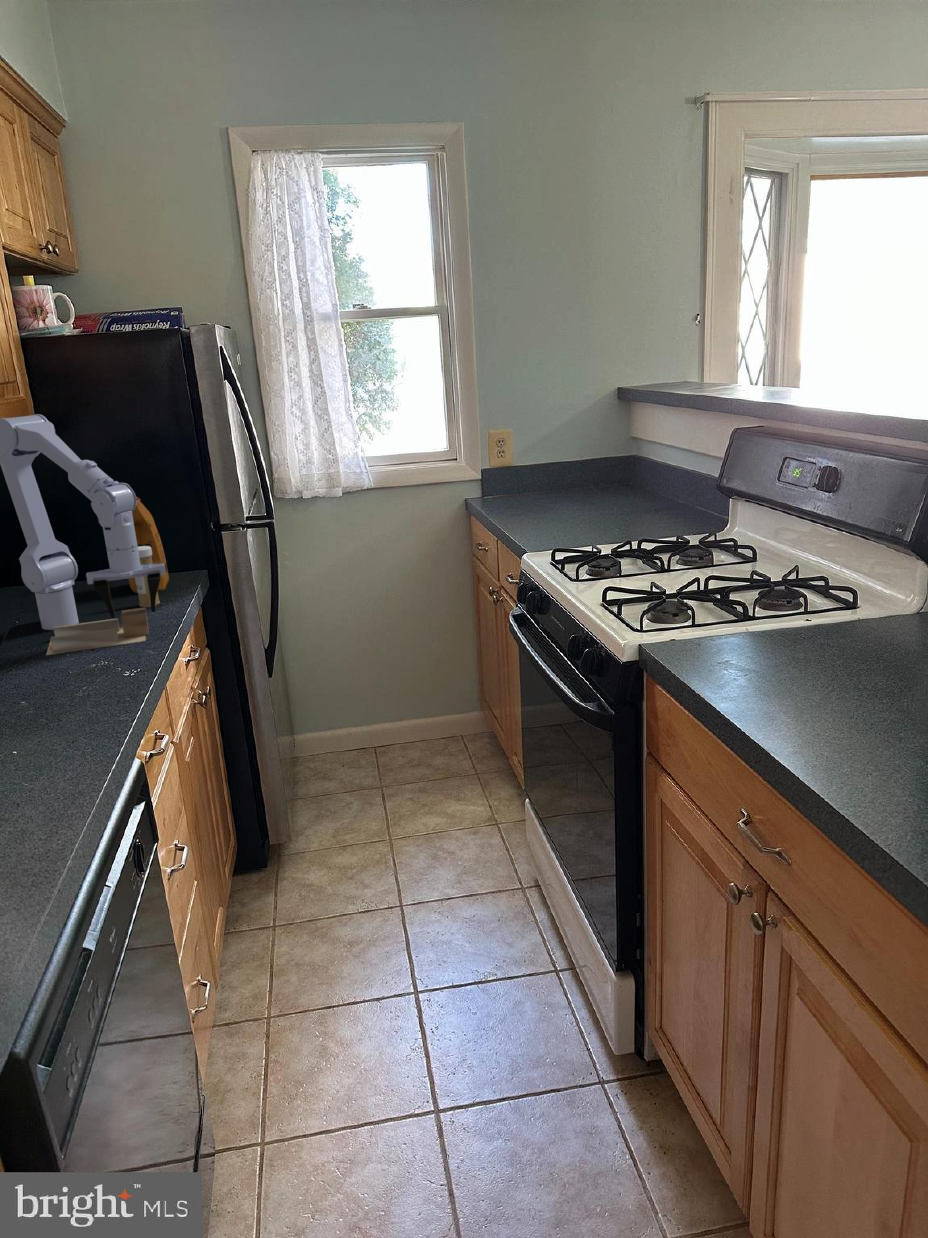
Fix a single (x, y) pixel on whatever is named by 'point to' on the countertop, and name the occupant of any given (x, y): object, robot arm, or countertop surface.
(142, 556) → the sprinkles bottle
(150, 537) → the coffee package
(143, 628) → the walnut block
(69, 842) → the countertop surface
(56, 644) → the frame
